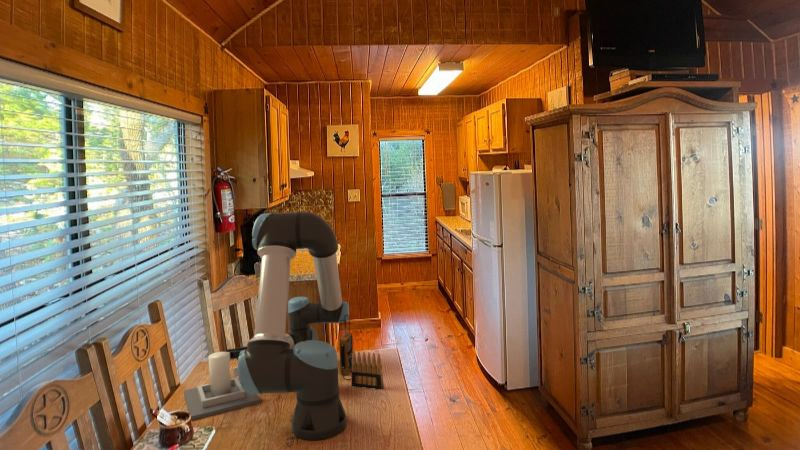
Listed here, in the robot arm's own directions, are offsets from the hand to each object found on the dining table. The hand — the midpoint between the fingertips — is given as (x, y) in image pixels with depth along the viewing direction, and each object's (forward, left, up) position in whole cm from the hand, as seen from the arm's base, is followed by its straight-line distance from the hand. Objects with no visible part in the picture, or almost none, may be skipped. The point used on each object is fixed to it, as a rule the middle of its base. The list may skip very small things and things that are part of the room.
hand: (222, 367), depth 151 cm
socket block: (-1, +1, -10) cm, 10 cm away
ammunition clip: (-19, -42, -10) cm, 47 cm away
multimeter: (-6, -44, -10) cm, 46 cm away
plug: (-1, +1, -9) cm, 9 cm away
